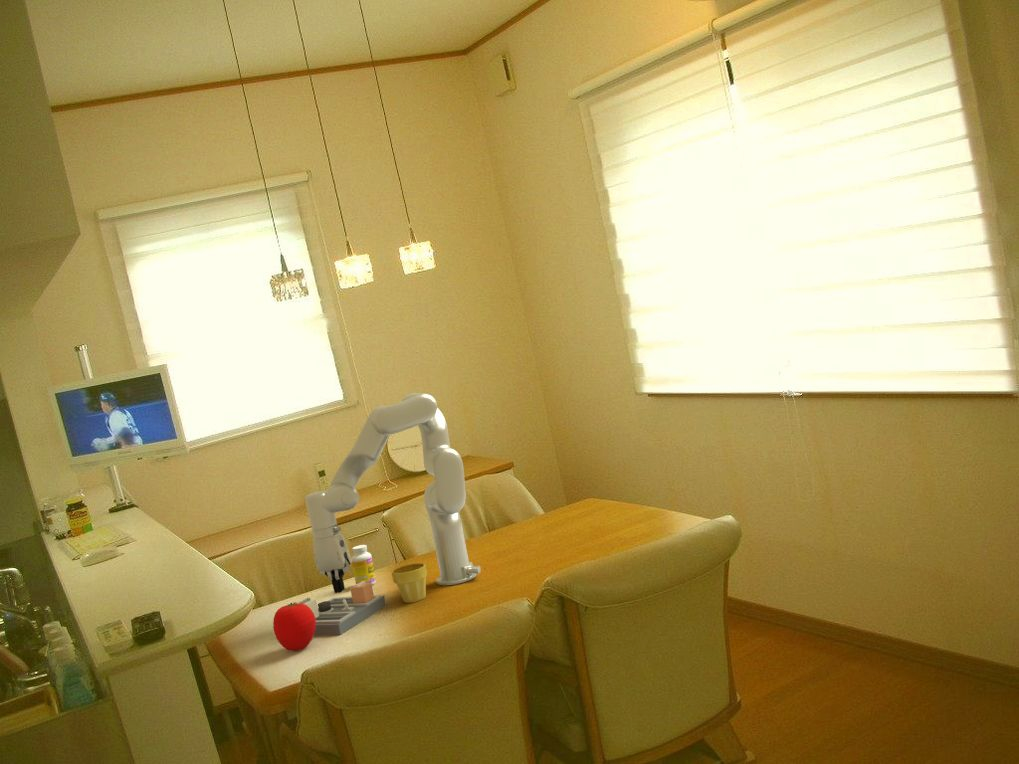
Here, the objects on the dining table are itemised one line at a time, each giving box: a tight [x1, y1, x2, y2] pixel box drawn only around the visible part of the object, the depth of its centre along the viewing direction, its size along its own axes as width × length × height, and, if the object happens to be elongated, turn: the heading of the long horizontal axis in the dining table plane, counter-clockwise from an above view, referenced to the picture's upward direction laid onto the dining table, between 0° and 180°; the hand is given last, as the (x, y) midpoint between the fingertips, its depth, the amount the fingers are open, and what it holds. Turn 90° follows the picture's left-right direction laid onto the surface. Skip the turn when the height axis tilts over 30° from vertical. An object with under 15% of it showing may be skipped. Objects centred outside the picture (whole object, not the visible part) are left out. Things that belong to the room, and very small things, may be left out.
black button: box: [317, 600, 331, 612], centre depth 298 cm, size 4×4×2 cm
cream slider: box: [298, 597, 319, 618], centre depth 292 cm, size 4×4×6 cm
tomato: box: [272, 602, 316, 652], centre depth 275 cm, size 11×11×13 cm
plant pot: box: [391, 562, 428, 603], centre depth 304 cm, size 10×10×10 cm
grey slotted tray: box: [313, 594, 387, 637], centre depth 296 cm, size 18×24×7 cm
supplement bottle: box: [351, 544, 377, 586], centre depth 333 cm, size 7×7×13 cm
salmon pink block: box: [350, 581, 375, 604], centre depth 300 cm, size 4×4×6 cm
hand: (339, 591), depth 304 cm, fingers closed
